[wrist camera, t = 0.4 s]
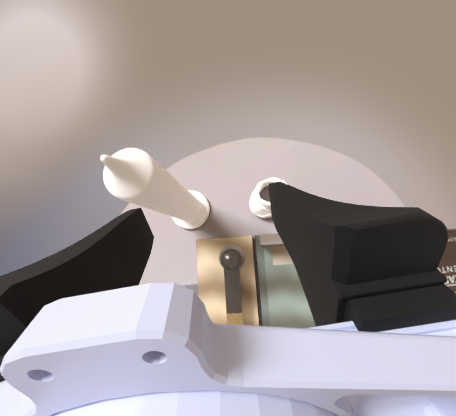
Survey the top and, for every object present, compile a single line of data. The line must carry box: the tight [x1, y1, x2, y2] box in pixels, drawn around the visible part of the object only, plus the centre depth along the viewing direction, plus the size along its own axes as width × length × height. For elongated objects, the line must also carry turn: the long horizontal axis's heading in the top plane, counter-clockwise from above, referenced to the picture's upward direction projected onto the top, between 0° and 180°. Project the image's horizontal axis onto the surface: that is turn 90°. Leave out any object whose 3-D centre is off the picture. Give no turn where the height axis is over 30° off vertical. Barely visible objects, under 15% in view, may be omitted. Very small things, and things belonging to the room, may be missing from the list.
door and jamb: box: [196, 234, 316, 328], centre depth 34 cm, size 18×22×4 cm
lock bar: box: [220, 249, 243, 325], centre depth 34 cm, size 12×3×3 cm, turn 4°
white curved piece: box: [249, 177, 287, 218], centre depth 37 cm, size 8×7×5 cm
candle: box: [100, 148, 210, 229], centre depth 27 cm, size 7×7×25 cm
